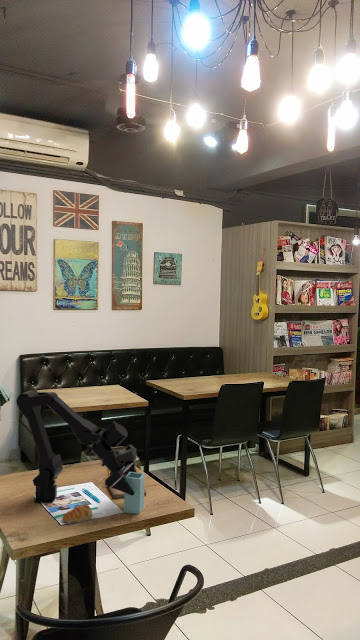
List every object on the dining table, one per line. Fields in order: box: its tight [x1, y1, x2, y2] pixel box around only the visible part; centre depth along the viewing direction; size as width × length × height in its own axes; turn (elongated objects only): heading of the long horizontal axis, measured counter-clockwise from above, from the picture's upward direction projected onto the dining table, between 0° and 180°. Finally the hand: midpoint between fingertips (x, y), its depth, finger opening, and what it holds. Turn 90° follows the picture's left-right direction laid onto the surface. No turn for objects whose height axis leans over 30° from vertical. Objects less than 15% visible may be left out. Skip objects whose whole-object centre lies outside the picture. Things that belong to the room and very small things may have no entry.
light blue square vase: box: [123, 472, 145, 515], centre depth 167 cm, size 6×6×12 cm
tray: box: [108, 486, 147, 500], centre depth 183 cm, size 12×12×2 cm
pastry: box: [62, 504, 94, 524], centre depth 159 cm, size 9×7×4 cm
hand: (137, 489), depth 167 cm, fingers open, 9 cm apart
